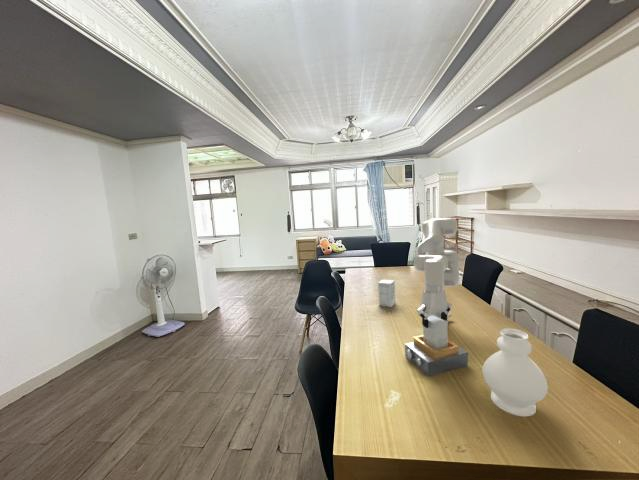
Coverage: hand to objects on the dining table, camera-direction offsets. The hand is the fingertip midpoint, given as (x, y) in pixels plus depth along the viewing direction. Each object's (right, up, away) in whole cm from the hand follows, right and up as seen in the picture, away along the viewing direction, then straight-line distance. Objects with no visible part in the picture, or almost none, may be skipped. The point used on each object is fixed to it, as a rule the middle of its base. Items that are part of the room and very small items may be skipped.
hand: (434, 324), depth 117 cm
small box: (+1, -11, +1) cm, 11 cm away
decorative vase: (+16, -19, -26) cm, 35 cm away
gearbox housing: (+1, -17, +1) cm, 17 cm away
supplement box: (-3, -9, +72) cm, 72 cm away
